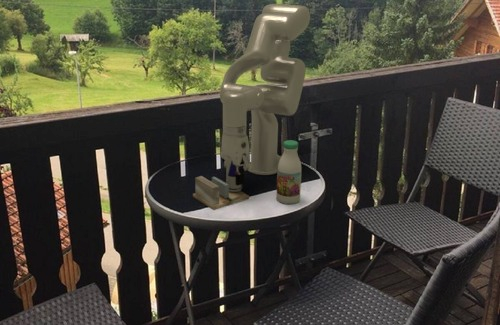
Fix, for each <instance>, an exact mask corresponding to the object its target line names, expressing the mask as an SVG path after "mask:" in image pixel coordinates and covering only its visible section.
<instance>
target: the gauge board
mask: <svg viewBox="0 0 500 325" xmlns="http://www.w3.org/2000/svg"><path fill="white" fill-rule="evenodd" d="M194 181H195V182H194V184H195V186H194V188H195V193H192V197H193V198H194V199H196V200H197V201H199V202H201V203H202V204H204V205H205V206H207V207H208V208H210V209H212V210H214V211H215V210H219V209H221V208H224V207H227V206H231V205H233V204H237V203H239V202H243V201H246V200H249V199H250V195H248V194H246V193H245V192H243V191H242V190H240V191H237V192H231V191H229V198H231V199H232V201H230V200H228V199H227V198H224V197H223V196H221V195H219V186H218V185H216V184H214V183H213V182H212V180H209V179H207V178H206V177H204V176H203V175H200V176H197V177H195V178H194Z"/></svg>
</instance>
